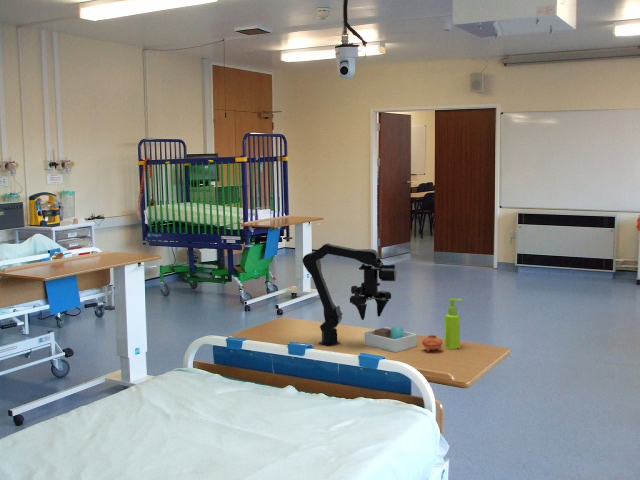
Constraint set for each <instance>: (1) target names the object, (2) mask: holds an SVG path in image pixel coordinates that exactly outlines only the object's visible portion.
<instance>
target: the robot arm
mask: <svg viewBox="0 0 640 480" xmlns="http://www.w3.org/2000/svg"><path fill="white" fill-rule="evenodd" d="M328 254H329V255H332V256H338V257H343V258H347V259H352V260H353V259H354V260H356V261H358V262H360V263H362V264H361V266H360V267H358V270H360V271H361V270H363V282H361V285H360V286H357V285H352V286H351V287H350V291H351V294H352V295H350V297H349V303H350V304H352V305H354V306H355V307H356V309H357V311H358V315H359V316H360V319H361V320H362V321H365V317H366V310H367V301H372V300H375V303H376V314H377V317H381V315H382V314H383V311H384V309H385V307H386V305H387V304H388V302H389V301H390V300H391V299H392V293H391V292H390V291H387V290H379V289H378V287H379V286H381V283H380V282H379V279H380V281H382V282H397V281H396V280H397V268H396V264H394V263H393V264H384V263H383V262H382V259H380V257H379V256H380V255H379V253H378V251H377V250H375V249H371V248H369V249H361V248H360V249H357V248H351V247H346V246H341V245H336V244H331V243H329V242H328V243H324V244H323V245H322V246H321V247H319V248H318V249H316V250H315V251H313V252H309V253H307V254H305V255H304V256H303V258H302V264H303V266H304V268H305V269H306V271H307V272H308V274H309V275H310V276H311V278H312V281H313V283H314V285H315V288H316V291H317V294H318V296H319V299H320V301H321V304H322V306H323V318H324V322H322V324H321V325H320V326H319V329H320V330H321V341H319V342H318V344H321V345H324V346H328V347H330V346H335V345H339V344H341V342H340V341H338V329H337V327H338V325H339V324H341V322H342V320H343V312H342V311H341V307H340V305H337V306H336V305H335V304H334V301H333V299H332V297H331V294H330V292H329V288H328V285H327V284H326V280H325V278H324V275H323V273H322V262H321V260H322V259H323V258H324V257H325V256H327V255H328Z"/></svg>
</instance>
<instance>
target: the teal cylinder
mask: <svg viewBox="0 0 640 480" xmlns="http://www.w3.org/2000/svg"><path fill="white" fill-rule="evenodd" d="M390 328H391V339H394V340H395V339H399V338H403V337H404V332H403V331H404V327H403V326H392V327H390Z"/></svg>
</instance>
